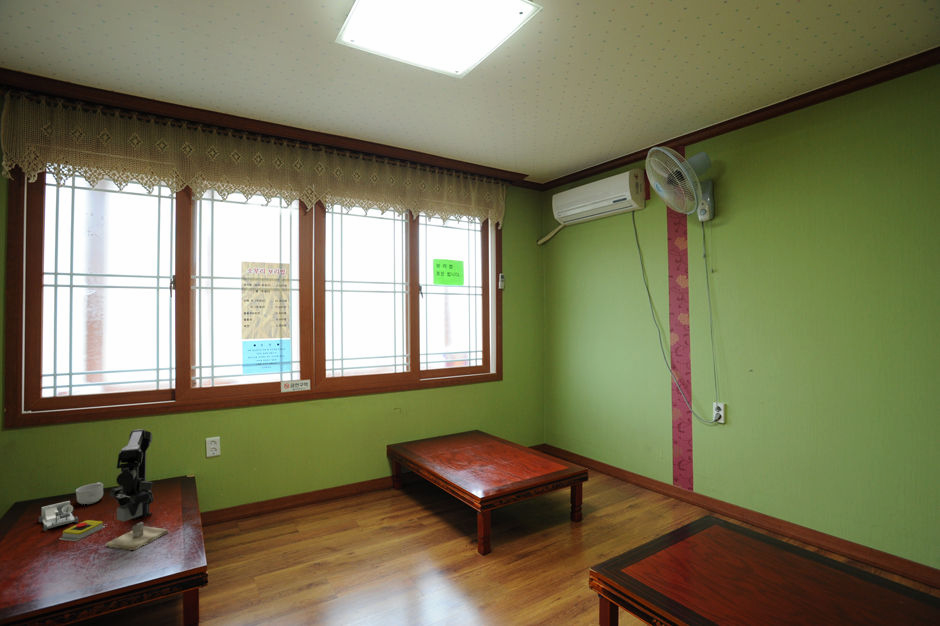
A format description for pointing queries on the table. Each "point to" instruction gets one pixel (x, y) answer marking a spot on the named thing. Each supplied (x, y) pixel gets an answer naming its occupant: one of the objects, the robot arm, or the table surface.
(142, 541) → the switch plate
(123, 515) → the grey open bin
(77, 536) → the emergency button
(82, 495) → the teacup
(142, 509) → the robot arm
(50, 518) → the white mechanical fixture
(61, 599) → the table surface
